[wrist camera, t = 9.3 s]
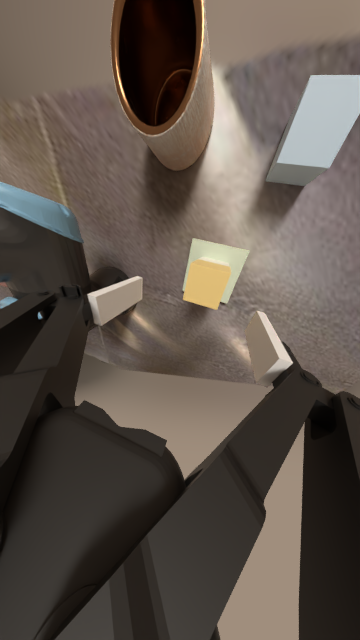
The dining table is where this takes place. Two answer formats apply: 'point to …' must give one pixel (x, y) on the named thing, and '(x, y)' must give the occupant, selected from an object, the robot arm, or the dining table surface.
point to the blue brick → (316, 129)
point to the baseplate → (219, 255)
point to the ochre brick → (206, 283)
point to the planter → (164, 75)
